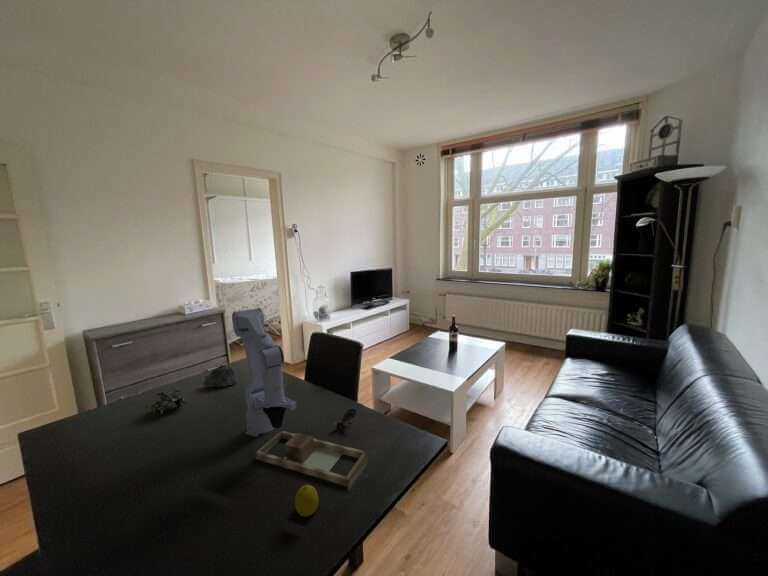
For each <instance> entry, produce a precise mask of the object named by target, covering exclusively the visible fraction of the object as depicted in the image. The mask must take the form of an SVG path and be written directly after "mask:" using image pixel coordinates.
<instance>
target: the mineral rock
mask: <svg viewBox="0 0 768 576" xmlns="http://www.w3.org/2000/svg"><path fill="white" fill-rule="evenodd" d="M204 379H205V380H204V381H203V383H202V384H203V385H204V386H206V387H210V388H215V387H216V388H218V387H219V388H220V387H228V386H227V385H231V384H234V383H235V384H237V383H236V381H237V379H238V373H237V370H236V369H235V367H234V366H233V365H229V366H227V365H226V364H220V365H219V366H218V367H216V368H215V369H213V370H212V371H211V372H210V374H207V375H206V376H205V377H204ZM238 380H239V379H238ZM237 382H238V381H237Z"/></svg>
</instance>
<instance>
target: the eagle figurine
mask: <svg viewBox="0 0 768 576" xmlns="http://www.w3.org/2000/svg"><path fill="white" fill-rule="evenodd" d="M356 414H357V410H356V409H355V407H354V408H350V409H348V410H347V411H346V412H345V413H344V414H343V415H342V419H341V420H337V421H335V422H334V423H333V424H332V425H333V427H334V428H336V427H339V429H338V430H337V431H338V432H341V433H344V432H346V430H347V429H350V427H352V425H351V423H352V421H351V420H352V419H353V418H355V416H357V415H356Z"/></svg>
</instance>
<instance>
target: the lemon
mask: <svg viewBox="0 0 768 576" xmlns="http://www.w3.org/2000/svg"><path fill="white" fill-rule="evenodd" d="M294 506H295V510H296V512H297V514H299V515H300V516H301V517H304V518H306V517H307V518H308V517H311V516H312V515H313V514H315V512H316V510H317V508H318V506H319V495H318V492H317V490H316V488H315V487H314V486H313V485H312V484H311V485H310V484H304V485H302V486H301V487H300V488H299V489H298V490H297V491H296V495H295V497H294Z"/></svg>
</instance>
